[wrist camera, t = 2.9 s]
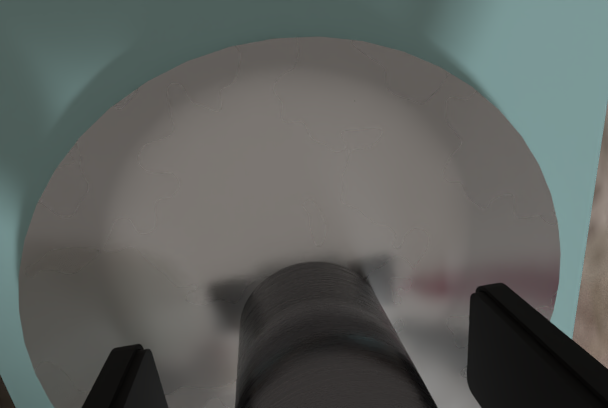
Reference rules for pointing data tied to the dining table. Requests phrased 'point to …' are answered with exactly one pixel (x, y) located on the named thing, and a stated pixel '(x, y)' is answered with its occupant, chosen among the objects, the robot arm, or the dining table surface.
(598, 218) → the dining table surface
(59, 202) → the metal lid
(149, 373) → the robot arm
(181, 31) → the teal mat
